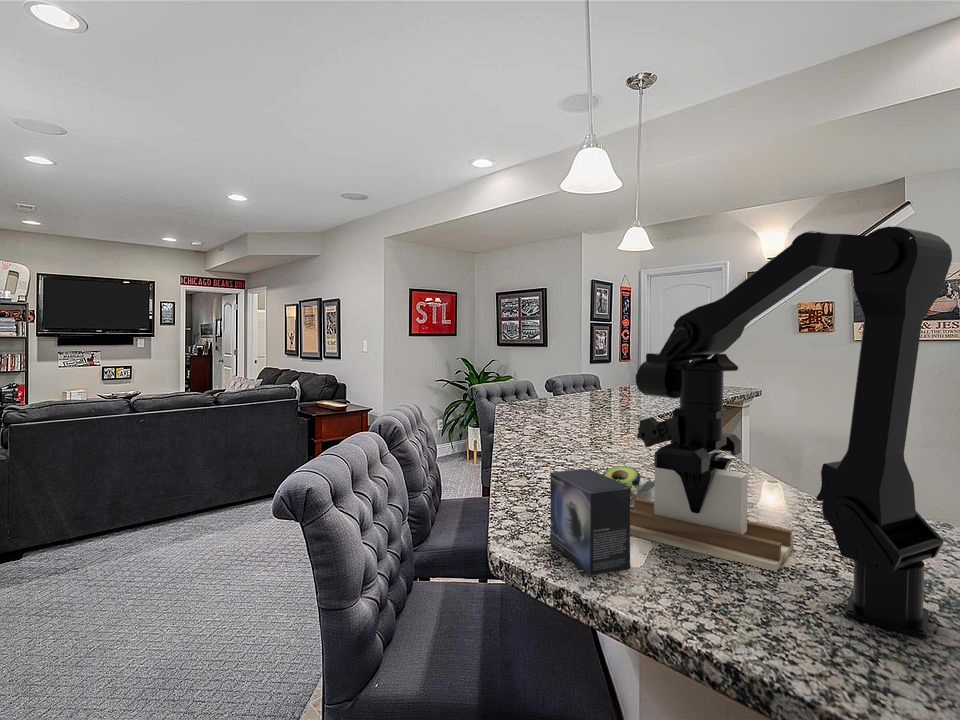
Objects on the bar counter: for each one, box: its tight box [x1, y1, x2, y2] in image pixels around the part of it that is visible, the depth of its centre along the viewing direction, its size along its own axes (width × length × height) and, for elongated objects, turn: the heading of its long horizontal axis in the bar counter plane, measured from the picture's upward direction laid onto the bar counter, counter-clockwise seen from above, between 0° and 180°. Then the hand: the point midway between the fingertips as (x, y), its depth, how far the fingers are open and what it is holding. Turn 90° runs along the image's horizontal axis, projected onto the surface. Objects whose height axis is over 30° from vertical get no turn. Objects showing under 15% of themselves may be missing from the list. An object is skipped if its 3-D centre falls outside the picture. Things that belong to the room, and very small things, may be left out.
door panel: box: [653, 466, 749, 534], centre depth 75 cm, size 3×12×8 cm, turn 49°
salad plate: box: [603, 465, 655, 510], centre depth 96 cm, size 19×18×5 cm
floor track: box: [630, 498, 794, 573], centre depth 75 cm, size 10×22×3 cm, turn 49°
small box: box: [549, 467, 631, 576], centre depth 69 cm, size 11×6×10 cm, turn 21°
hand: (699, 509), depth 75 cm, fingers closed on door panel, 3 cm apart
